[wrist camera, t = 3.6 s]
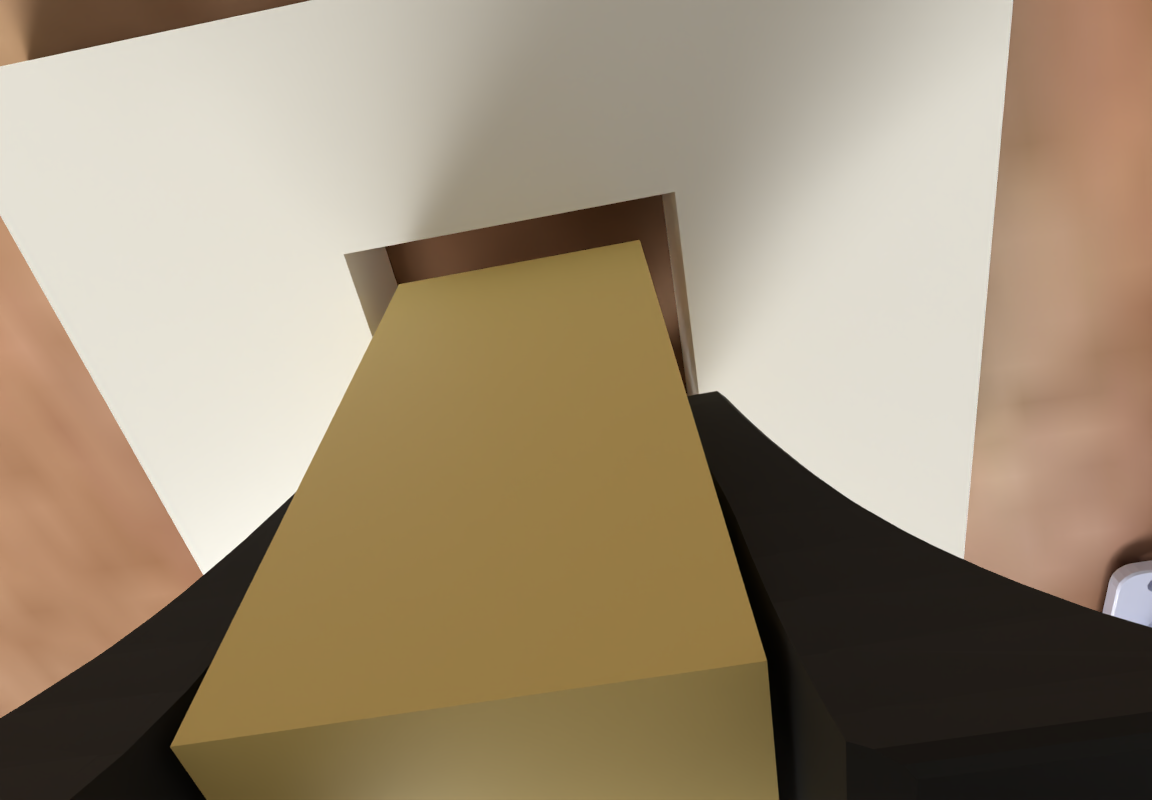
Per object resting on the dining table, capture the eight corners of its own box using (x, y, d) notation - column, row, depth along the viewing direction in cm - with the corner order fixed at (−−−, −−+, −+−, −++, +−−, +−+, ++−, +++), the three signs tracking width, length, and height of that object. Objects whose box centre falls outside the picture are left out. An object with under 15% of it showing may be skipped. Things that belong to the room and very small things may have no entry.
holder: (945, -133, 12) (1027, -153, 10) (916, 498, 19) (963, 568, 17) (26, 63, 14) (-75, 82, 11) (291, 597, 20) (259, 675, 18)
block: (639, 239, 13) (767, 660, 5) (670, 445, 15) (793, 971, 7) (399, 284, 13) (169, 746, 5) (461, 479, 15) (359, 1020, 7)
